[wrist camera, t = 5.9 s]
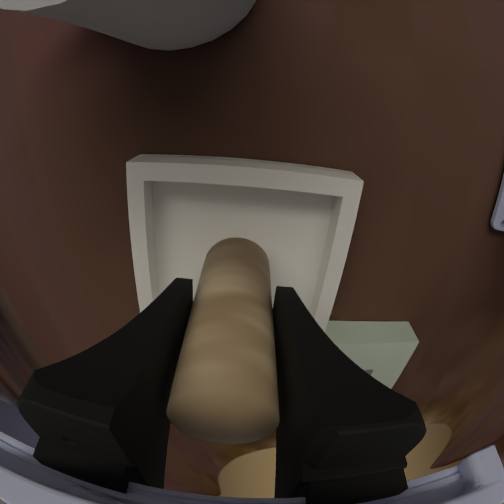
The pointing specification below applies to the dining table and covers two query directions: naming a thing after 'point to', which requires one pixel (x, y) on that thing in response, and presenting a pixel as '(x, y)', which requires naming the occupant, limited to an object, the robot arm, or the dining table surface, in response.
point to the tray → (241, 221)
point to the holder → (375, 346)
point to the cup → (144, 18)
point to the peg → (228, 350)
